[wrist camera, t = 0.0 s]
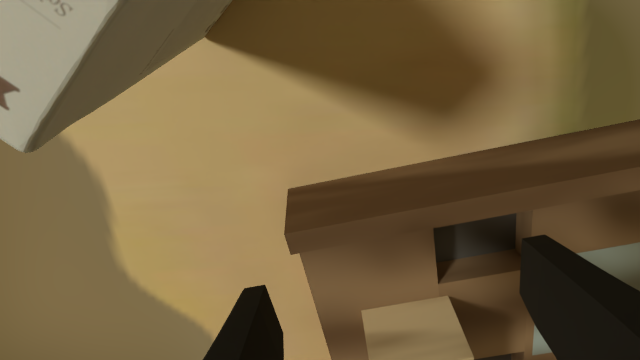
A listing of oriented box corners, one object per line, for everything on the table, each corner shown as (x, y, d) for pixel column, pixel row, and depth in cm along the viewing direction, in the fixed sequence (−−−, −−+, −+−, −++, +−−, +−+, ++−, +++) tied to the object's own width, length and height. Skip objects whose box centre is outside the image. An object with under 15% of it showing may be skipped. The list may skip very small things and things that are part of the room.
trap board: (617, 369, 29) (659, 424, 26) (352, 409, 31) (357, 467, 27) (679, 111, 20) (760, 143, 16) (288, 188, 21) (284, 234, 18)
